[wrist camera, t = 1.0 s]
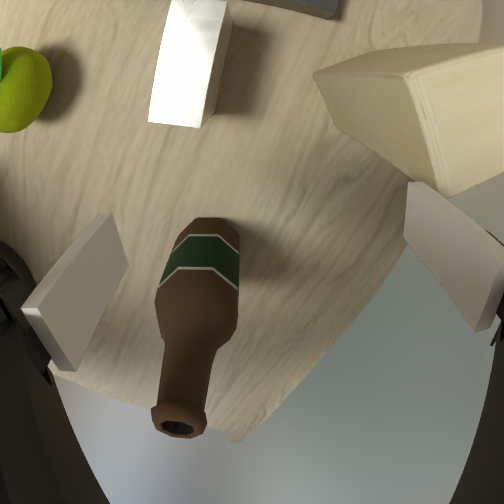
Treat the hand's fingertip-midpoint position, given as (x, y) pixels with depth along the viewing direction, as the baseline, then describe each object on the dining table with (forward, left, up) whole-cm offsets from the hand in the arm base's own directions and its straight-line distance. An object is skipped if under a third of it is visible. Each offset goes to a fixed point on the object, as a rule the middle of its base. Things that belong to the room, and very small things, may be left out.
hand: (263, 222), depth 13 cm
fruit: (-27, +3, -22) cm, 34 cm away
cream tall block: (+9, +7, -22) cm, 25 cm away
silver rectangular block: (-7, +6, -21) cm, 23 cm away
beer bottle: (-3, -14, -22) cm, 26 cm away
